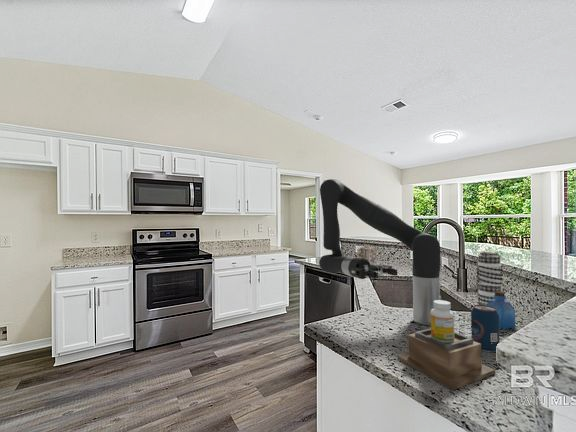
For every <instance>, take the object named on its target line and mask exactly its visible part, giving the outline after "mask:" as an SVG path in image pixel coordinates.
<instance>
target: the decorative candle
mask: <svg viewBox="0 0 576 432" xmlns="http://www.w3.org/2000/svg"><path fill="white" fill-rule="evenodd" d="M477 256H478V261H477V265H478V266H477V267H476V268H475V269H476V275H477V276H476V278H477V280H476V282H477V284H478V293H477V296H478V297H477V300H478V301H477V305H486V306H487V304H488V303H489V302H490V301H491V300H495V298H494V294H495V292H494V291H501V292H502V286H503V282H502V281H503V280H504V278H503V276H504V275H503V273H502V272H504V269H502V268H504V266H503V265H502V263H501V255H500V254H499V253H498V252H497V251H493V250H492V251H487V250H483V251H480V252H479V254H477Z"/></svg>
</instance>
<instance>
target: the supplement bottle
mask: <svg viewBox="0 0 576 432" xmlns="http://www.w3.org/2000/svg"><path fill="white" fill-rule="evenodd" d="M433 305H434V309H432V310H431V326H430V328H431V337H432V338H434V339H436V340H438V341H441V342H443V343H452V342H454V332H455V314H454V312H453V311H452V310H451V307H452V305H451V302H450V301H447V300H443V299H441V300H435V301H434V302H433Z"/></svg>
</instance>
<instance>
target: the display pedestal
mask: <svg viewBox="0 0 576 432" xmlns="http://www.w3.org/2000/svg"><path fill="white" fill-rule="evenodd" d="M407 336H408V352H406V353H402V354H398V355H397V360H399V361H400V362H402V363H404V364H406V365H407V366H409V367H411V368H412V369H414V370H416V371H418V372H419V373H421V374H423V375H425V376H426V377H428V378H430V379H432V380H433V381H435V382H437V383H438V384H440V385H443V386H444V387H446V388H447V389H449V390H451V391H454V390H456V389H460V388H462V387H465V386H467V385H469V384H473V383H475V382H478V381H479V380H483V379H485V378H488V377H491V376H493V374H494V375H495V374H496V370H495V369H494V368H491V367H489V366H487V365H485V364H483V363H482V360H483V359H482V350H481V344H480V343H478V342H475V341H473V339H472V338H471V337H470V336H466V335H463V334H461V333H459V332H455V331H454V342H452V343H443V342H441V341H438V340H436V339H434V338H432V337H431V327H430V328H427V329H426V328H425V329H424V330H417V331H415V332H414V333H411V334H408V335H407Z"/></svg>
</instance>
